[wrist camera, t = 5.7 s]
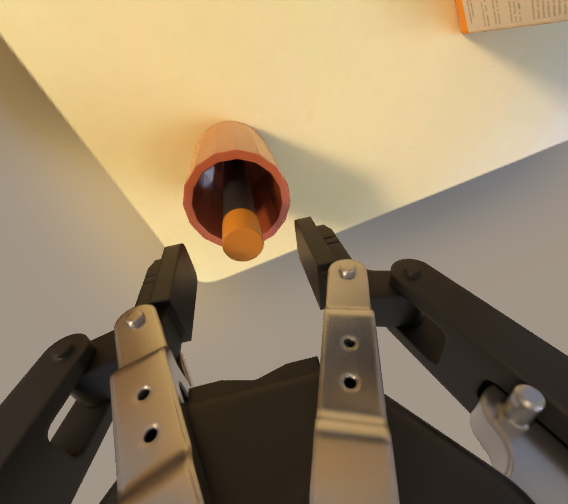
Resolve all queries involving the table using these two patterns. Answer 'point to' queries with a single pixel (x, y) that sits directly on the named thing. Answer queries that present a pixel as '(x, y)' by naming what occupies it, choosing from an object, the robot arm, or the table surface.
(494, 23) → the supplement box
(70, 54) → the table surface
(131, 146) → the table surface
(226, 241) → the marker
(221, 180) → the pen cup
